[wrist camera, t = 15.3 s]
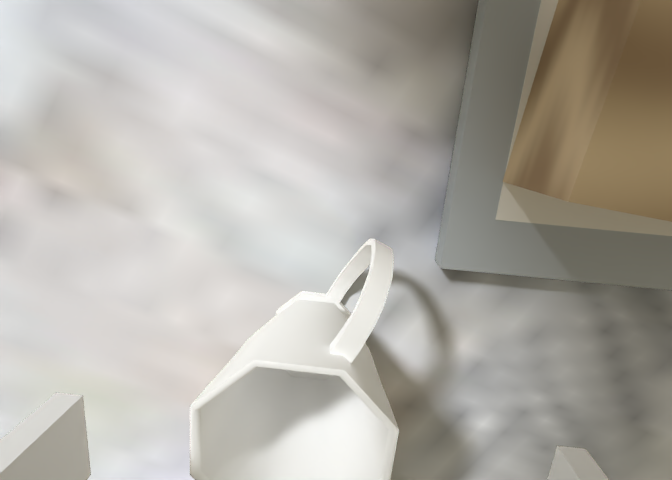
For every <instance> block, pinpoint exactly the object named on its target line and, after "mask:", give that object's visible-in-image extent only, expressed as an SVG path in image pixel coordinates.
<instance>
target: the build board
mask: <svg viewBox="0 0 672 480" xmlns="http://www.w3.org/2000/svg"><path fill="white" fill-rule="evenodd" d="M557 3H558V0H479V1H478V7H477V13H476V19H475V25H474V31H473V36H472V42H471V48H470V54H469V60H468V66H467V72H466V78H465V84H464V90H463V96H462V102H461V108H460V114H459V120H458V125H457V131H456V137H455V143H454V149H453V155H452V161H451V167H450V173H449V179H448V185H447V191H446V197H445V203H444V208H443V214H442V220H441V226H440V232H439V238H438V244H437V250H436V256H435V261H436V263H437V264H438V266H439V267H440V268H441V269H451V270H462V271H472V272H483V273H493V274H504V275H514V276H525V277H535V278H546V279H556V280H567V281H577V282H587V283H598V284H608V285H619V286H629V287H640V288H650V289H661V290H671V291H672V222H670V221H665V220H660V219H655V218H650V217H644V216H639V215H634V214H629V213H624V212H619V211H613V210H608V209H603V208H598V207H593V206H588V205H582V204H577V203H572V202H567V201H564V200H561V199H558V198H554V197H551V196H548V195H544V194H541V193H538V192H535V191H531V190H528V189H525V188H521V187H518V186H515V185H512V184H508V183H505V182H503V178H504V175H505V172H506V169H507V165H508V162H509V159H510V156H511V152H512V149H513V146H514V143H515V139H516V136H517V133H518V130H519V126H520V123H521V120H522V117H523V114H524V110H525V107H526V104H527V101H528V97H529V94H530V91H531V88H532V84H533V81H534V78H535V75H536V71H537V68H538V65H539V62H540V58H541V55H542V52H543V49H544V45H545V42H546V39H547V36H548V32H549V29H550V26H551V23H552V20H553V16H554V13H555V10H556V7H557Z"/></svg>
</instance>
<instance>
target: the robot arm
mask: <svg viewBox="0 0 672 480" xmlns="http://www.w3.org/2000/svg"><path fill="white" fill-rule="evenodd" d="M90 475H91V470H90V461H89V451H88V441H87V431H86V421H85V411H84V401H83V395H74V394H65V393H55V394H54V395H52V396H51V397H50V398H49V399H48V400H47V401H45V402H44V403H43V404H42V405H41V406H39V407H38V408H37V409H36V410H35V411H34V412H32V413H31V414H30V415H29V416H28V417H26V418H25V419H24V420H23V421H22V422H21V423H19V424H18V425H17V426H16V427H15V428H14V429H12V430H11V431H10V432H9V433H8V434H6V435H5V436H4V437H3V438H2V439H1V440H0V480H87V479H88V478H89V476H90ZM547 480H609V479H608V478H607V476H606V475H605V474H604V472H603V471H602V470H601V468H600V467H599V466H598V464H597V463H596V462H595V461H594V459H593V458H592V457H591V455H590V454H589V453H588V451H587V450H586V449H584V448H574V447H565V446H557V448H556V451H555V455H554V458H553V462H552V465H551V468H550V472H549V475H548V479H547Z"/></svg>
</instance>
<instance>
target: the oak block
mask: <svg viewBox="0 0 672 480" xmlns="http://www.w3.org/2000/svg"><path fill="white" fill-rule="evenodd" d="M503 182H505V183H508V184H512V185H515V186H518V187H521V188H525V189H528V190H531V191H535V192H538V193H541V194H544V195H548V196H551V197H554V198H558V199H561V200H564V201H567V202H572V203H577V204H582V205H588V206H593V207H598V208H603V209H608V210H613V211H619V212H624V213H629V214H634V215H639V216H644V217H650V218H655V219H660V220H665V221H670V222H672V0H558V3H557V7H556V10H555V13H554V16H553V20H552V23H551V26H550V29H549V32H548V36H547V39H546V42H545V45H544V49H543V52H542V55H541V58H540V62H539V65H538V68H537V71H536V75H535V78H534V81H533V84H532V88H531V91H530V94H529V97H528V101H527V104H526V107H525V110H524V114H523V117H522V120H521V123H520V126H519V130H518V133H517V136H516V139H515V143H514V146H513V149H512V152H511V156H510V159H509V162H508V165H507V169H506V172H505V175H504V178H503Z"/></svg>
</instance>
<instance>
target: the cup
mask: <svg viewBox="0 0 672 480" xmlns="http://www.w3.org/2000/svg"><path fill="white" fill-rule="evenodd" d="M393 264H394V257H393V251H392V248H390V247H389V246H387V245H385V244H383V243H381V242H379V241H377V240H376V239H369V240H368V241H367V242H366V243H365V244H364V245H362V246H361V248H360V249H359V250H358V251H357V252H356V254H355V255H354V256H353V257H352V258H351V260H350V261H349V262H348V263H347V265H346V266H345V267H344V268H343V270H342V271H341V273H340V274H339V275H338V277H337V278H336V280H335V281H334V282H333V284H332V286H331V287H330V289H329V291H328V293H327V294H324V293H315V292H306V291H301V292H300V293H298V294H297V295H296V296H294V297H293V298H292V299H290V300H289V301H288V302H286V303H285V304H284V305H282V306H281V307H280V308H279V309H277V311H276V315H275V317H274V318H272V319H271V320H270V321H268V322H267V323H266V324H265V325H264V326H262V327H261V328H260V329H259V330H258V331H256V332H255V333H254V334H253V335H252V336H250V337H249V338H248V340H247V341H246V342H245V343H244V344H243V346H242V347H241V348H240V349H239V350H238V352H237V353H236V354H235V355H234V356H233V357H232V359H231V360H230V361H229V362H228V363H227V365H226V366H225V367H224V368H223V369H222V370H221V371H220V372H219V373H218V375H217V376H216V377H215V378H214V379H213V380H212V381H211V382H210V383H209V385H208V386H207V387H206V388H205V389H204V390H203V392H202V393H201V394H200V395H199V396H198V397H197V399H196V400H195V401H194V402H193V403H192V404H191V406H190V475H191V476H192V477H193V478H194V479H195V480H390V478H391V473H392V467H393V462H394V456H395V451H396V445H397V440H398V434H399V428H398V426H397V423H396V420H395V417H394V415H393V412H392V409H391V406H390V404H389V401H388V399H387V396H386V393H385V391H384V388H383V386H382V383H381V381H380V378H379V375H378V372H377V369H376V366H375V364H374V361H373V358H372V355H371V352H370V350H369V348H368V347H367V345H366V343H365V342H366V340H367V339H368V337H369V335H370V334H371V332H372V330H373V328H374V327H375V325H376V322H377V320H378V318H379V316H380V314H381V312H382V310H383V308H384V305H385V302H386V298H387V295H388V292H389V289H390V285H391V282H392V279H393ZM369 265H370V268H369V273H368V276H367V278H366V281H365V284H364V287H363V290H362V292H361V295H360V298H359V300H358V302H357V304H356V306H355V308H354V310H353V312H352V314H351V313H350V312H349V311H348V310H347V308H346V307H345V306H344V305H343V304H342V303H341V300H342V298H343V297H344V295H345V293H346V292H347V291H348V289H349V288H350V287H351V285H352V284H353V283H354V282H355V280H356V279H357V278H358V277H359V276H360V275H361V274H362V273H363V271H364V270H365V269H366V268H367V267H368V266H369Z"/></svg>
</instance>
